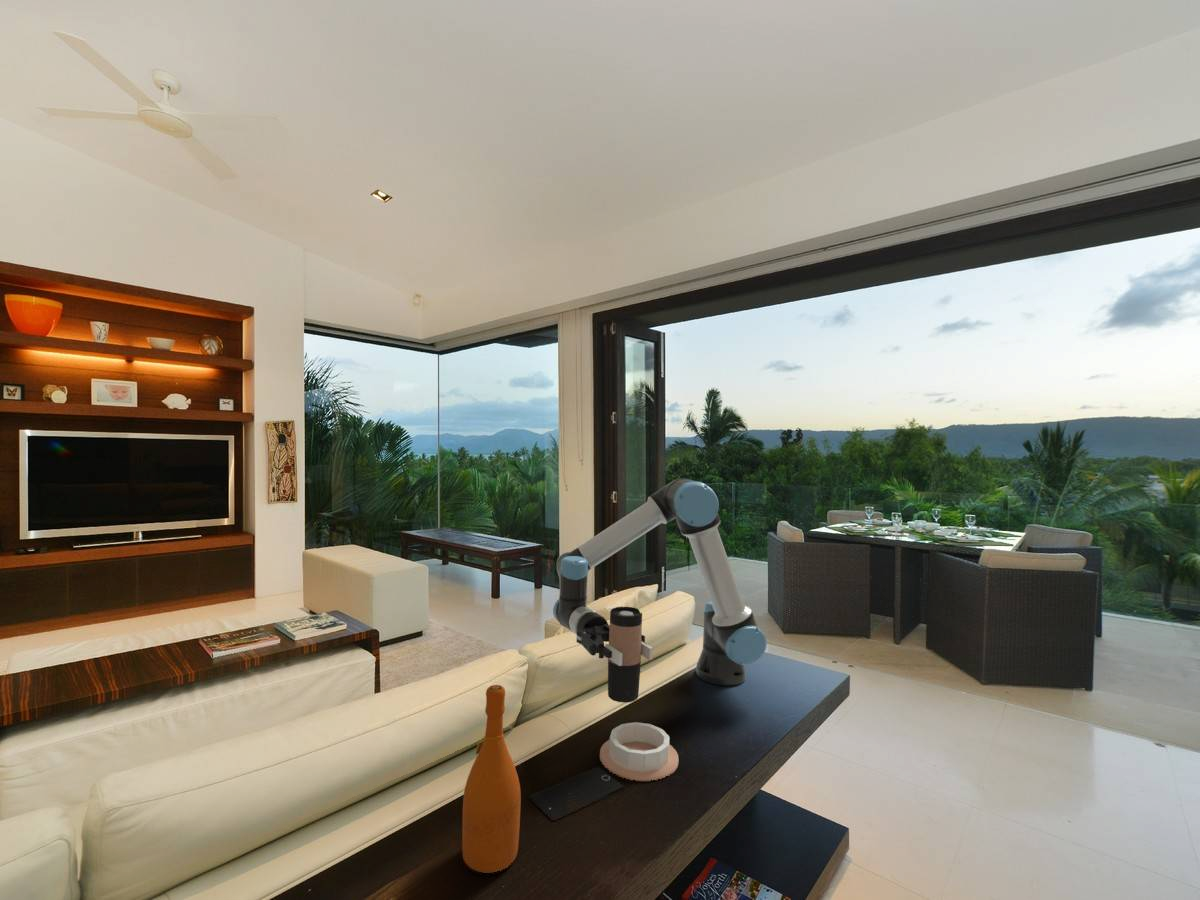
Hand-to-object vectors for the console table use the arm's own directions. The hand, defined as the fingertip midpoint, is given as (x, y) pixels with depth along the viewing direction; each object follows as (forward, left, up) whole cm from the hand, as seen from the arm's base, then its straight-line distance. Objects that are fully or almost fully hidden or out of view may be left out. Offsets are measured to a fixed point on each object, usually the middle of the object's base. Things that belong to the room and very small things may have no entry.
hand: (636, 656), depth 132 cm
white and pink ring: (-2, -1, -24) cm, 24 cm away
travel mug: (+3, -4, -11) cm, 12 cm away
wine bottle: (+20, +36, -24) cm, 48 cm away
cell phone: (+10, +15, -24) cm, 30 cm away
